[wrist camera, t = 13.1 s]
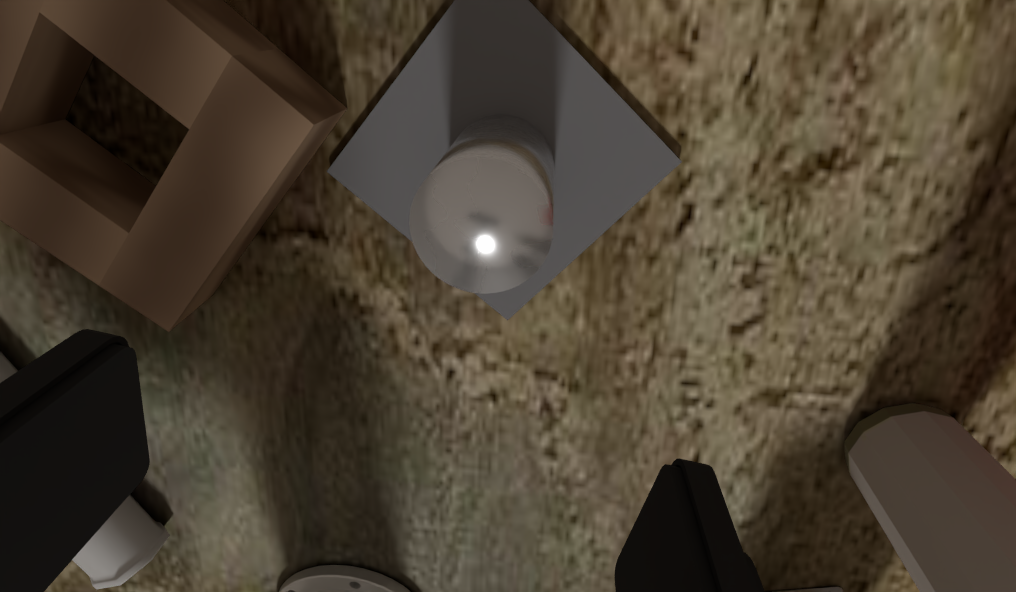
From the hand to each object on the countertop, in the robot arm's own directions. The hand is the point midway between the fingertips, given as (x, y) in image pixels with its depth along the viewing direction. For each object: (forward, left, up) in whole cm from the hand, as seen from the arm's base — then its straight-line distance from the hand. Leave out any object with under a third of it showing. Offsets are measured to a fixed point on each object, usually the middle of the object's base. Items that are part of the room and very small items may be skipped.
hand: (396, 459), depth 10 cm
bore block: (+14, +10, -19) cm, 26 cm away
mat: (0, 0, -19) cm, 19 cm away
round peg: (0, 0, -19) cm, 19 cm away
